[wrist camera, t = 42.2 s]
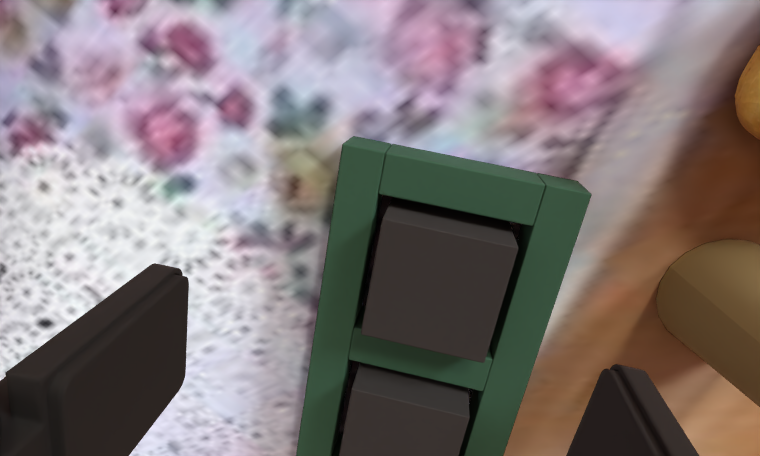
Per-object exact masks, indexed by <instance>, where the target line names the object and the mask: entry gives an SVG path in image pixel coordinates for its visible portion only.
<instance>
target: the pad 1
mask: <svg viewBox="0 0 760 456" xmlns="http://www.w3.org/2000/svg"><path fill="white" fill-rule="evenodd" d="M517 252H518V245H517V243H516V240H515V237H514V234H513V231H512V229H511V226H510V223H509V221H505V220H500V219H495V218H490V217H486V216H481V215H476V214H471V213H467V212H462V211H457V210H452V209H448V208H443V207H438V206H433V205H429V204H424V203H419V202H414V201H410V200H405V199H400V198H395V197H392V199H391V201H390V203H389V205H388V208H387V210H386V212H385V214H384V216H383V219H382V223H381V228H380V233H379V239H378V244H377V249H376V255H375V260H374V265H373V271H372V276H371V281H370V286H369V292H368V297H367V302H366V308H365V313H364V318H363V323H362V329H361V334H362V335H366V336H370V337H374V338H379V339H383V340H387V341H391V342H396V343H400V344H404V345H408V346H413V347H417V348H421V349H425V350H430V351H434V352H438V353H443V354H447V355H451V356H455V357H460V358H464V359H468V360H472V361H477V362H481V363H484V362H485V359H486V356H487V352H488V349H489V346H490V342H491V339H492V335H493V332H494V329H495V325H496V322H497V319H498V315H499V312H500V309H501V305H502V302H503V299H504V295H505V292H506V288H507V285H508V282H509V278H510V275H511V272H512V268H513V265H514V262H515V258H516V255H517Z"/></svg>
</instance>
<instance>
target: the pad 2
mask: <svg viewBox="0 0 760 456" xmlns="http://www.w3.org/2000/svg"><path fill="white" fill-rule="evenodd" d="M469 418H470V415H469V394H468V388H466V387H462V386H458V385H454V384H450V383H445V382H441V381H437V380H433V379H429V378H424V377H420V376H416V375H412V374H408V373H403V372H399V371H395V370H391V369H387V368H382V367H378V366H374V365H370V364H366V363H361V362H360V364H359V367H358V370H357V373H356V377H355V380H354V383H353V386H352V390H351V395H350V400H349V406H348V411H347V416H346V422H345V427H344V432H343V437H342V443H341V448H340V453H339V456H458V455H459V452H460V448H461V445H462V442H463V438H464V435H465V432H466V428H467V425H468V421H469Z"/></svg>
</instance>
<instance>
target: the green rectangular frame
mask: <svg viewBox="0 0 760 456" xmlns="http://www.w3.org/2000/svg"><path fill="white" fill-rule="evenodd" d="M382 195H386V196H390V197H395V198H400V199H405V200H410V201H414V202H419V203H424V204H429V205H433V206H438V207H443V208H448V209H452V210H457V211H462V212H467V213H471V214H476V215H481V216H486V217H490V218H495V219H500V220H505V221H509V222H514V223H519V224H522V226H521V230H520V233H519V236H518V240H517V245H518V252H517V255H516V258H515V262H514V265H513V268H512V272H511V275H510V278H509V282H508V285H507V288H506V292H505V295H504V299H503V302H502V305H501V309H500V312H499V315H498V319H497V322H496V325H495V329H494V332H493V335H492V339H491V342H490V346H489V349H488V352H487V356H486V359H485V362H484V363H481V362H477V361H472V360H468V359H464V358H460V357H455V356H451V355H447V354H443V353H438V352H434V351H430V350H425V349H421V348H417V347H413V346H408V345H404V344H400V343H396V342H391V341H387V340H383V339H379V338H374V337H370V336H366V335H362V334H361V329H362V323H363V318H364V313H365V308H366V306H362V303H363V298H364V292H365V287H366V281H367V276H368V270H369V265H370V260H371V254H372V249H373V243H374V238H375V232H376V227H377V222H378V216H379V211H380V205H381V200H382ZM590 198H591V193H589V192H588V191H587V190H586V189H585V188H584V187H583V186H582V185H581V184H580V183H579V182H578V181H574V180H569V179H564V178H559V177H554V176H549V175H544V174H539V173H538V174H536V173H534V172H529V171H524V170H519V169H514V168H509V167H504V166H499V165H494V164H489V163H484V162H479V161H474V160H469V159H464V158H460V157H455V156H450V155H445V154H440V153H435V152H430V151H425V150H420V149H415V148H410V147H405V146H400V145H395V144H392V146H391V144H390V143H385V142H380V141H375V140H370V139H365V138H360V137H355V136H354V137H352V138H350V139H349V140H348V141H346V142H345V143H344V144H343V145H342V151H341V158H340V165H339V171H338V178H337V185H336V191H335V198H334V205H333V212H332V218H331V225H330V232H329V238H328V245H327V252H326V258H325V265H324V272H323V279H322V285H321V292H320V299H319V305H318V312H317V319H316V326H315V332H314V339H313V346H312V352H311V359H310V366H309V372H308V379H307V386H306V393H305V399H304V406H303V413H302V419H301V426H300V433H299V440H298V446H297V453H296V456H339V453H340V448H341V443H342V437H343V434H340V433H339V428H340V422H341V417H342V412H343V406H344V401H345V395H346V390H347V384H348V379H349V374H350V368H351V363H352V360H353V361H357V362H361V363H366V364H370V365H374V366H378V367H382V368H387V369H391V370H395V371H399V372H403V373H408V374H412V375H416V376H420V377H424V378H429V379H433V380H437V381H441V382H445V383H450V384H454V385H458V386H462V387H466V388H471V389H473V393H472V396H471V400H470V403H469V415H470V418H469V421H468V425H467V428H466V432H465V435H464V438H463V442H462V445H461V448H460V452H459V455H458V456H503V454H504V451H505V448H506V446H507V443H508V440H509V437H510V434H511V431H512V428H513V425H514V422H515V419H516V416H517V413H518V410H519V407H520V404H521V401H522V398H523V395H524V392H525V389H526V387H527V384H528V381H529V378H530V375H531V372H532V369H533V366H534V363H535V360H536V357H537V354H538V351H539V348H540V345H541V342H542V339H543V336H544V333H545V330H546V328H547V325H548V322H549V319H550V316H551V313H552V310H553V307H554V304H555V301H556V298H557V295H558V292H559V289H560V286H561V283H562V280H563V277H564V274H565V271H566V269H567V266H568V263H569V260H570V257H571V254H572V251H573V248H574V245H575V242H576V239H577V236H578V233H579V230H580V227H581V224H582V221H583V218H584V215H585V212H586V210H587V207H588V204H589V201H590ZM338 433H339V434H338Z"/></svg>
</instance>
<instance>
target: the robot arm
mask: <svg viewBox="0 0 760 456" xmlns="http://www.w3.org/2000/svg"><path fill="white" fill-rule="evenodd" d="M188 288H189V282H188V278H187V277H185V276H182V271H181V270H180V269H179V268H174V267H169V266H165V265H160V264H152V265H150V266H149V267H147V268H146V269H145V270H143V271H142V272H141V273H139V274H138V275H137V276H135V277H134V278H133V279H131V280H130V281H129V282H127V283H126V284H125V285H123V286H122V287H120V288H119V289H118V290H116V291H115V292H114V293H112V294H111V295H110V296H108V297H107V298H106V299H104V300H103V301H102V302H100V303H99V304H98V305H96V306H95V307H94V308H92V309H91V310H89V311H88V312H87V313H85V314H84V315H83V316H81V317H80V318H79V319H77V320H76V321H75V322H73V323H72V324H71V325H69V326H68V327H67V328H65V329H64V330H63V331H61V332H60V333H58V334H57V335H56V336H54V337H53V338H52V339H50V340H49V341H48V342H46V343H45V344H44V345H42V346H41V347H40V348H38V349H37V350H36V351H34V352H33V353H31V354H30V355H29V356H27V357H26V358H25V359H23V360H22V361H21V362H19V363H18V364H17V365H15V366H14V367H13V368H11V369H10V370H9V371H7V372H6V377H5V378H4V379H2V380H1V381H0V456H129V455H130V453H131V452H132V451H133V449H134V448H135V447H136V446H137V444H138V443H139V442H140V440H141V439H142V438H143V436H144V435H145V434H146V433H147V431H148V430H149V429H150V427H151V426H152V425H153V423H154V422H155V421H156V420H157V418H158V417H159V416H160V414H161V413H162V412H163V410H164V409H165V408H166V407H167V405H168V404H169V403H170V401H171V400H172V399H173V397H174V396H175V395H176V394H177V392H178V391H179V389H180V388H181V386H182V384H183V381H184V378H185V370H186V342H187V315H188ZM566 456H699V455H698V453H697V451H696V450H695V448H694V447H693V445H692V444H691V442H690V440H689V439H688V437H687V436H686V434H685V433H684V431H683V429H682V428H681V426H680V425H679V423H678V422H677V420H676V418H675V417H674V415H673V414H672V412H671V411H670V409H669V407H668V406H667V404H666V403H665V401H664V399H663V398H662V396H661V395H660V393H659V392H658V390H657V388H656V387H655V385H654V384H653V382H652V381H651V379H650V377H649V376H648V374H647V373H646V372H645V371H644V370H641V369H636V368H632V367H627V366H622V365H618V364H616V365H613V366H612V367H611V368H610V370H609V369H604V370H603V371H602V372H601V374H600V377H599V379H598V381H597V384H596V386H595V389H594V391H593V393H592V396H591V398H590V400H589V403H588V405H587V408H586V410H585V412H584V415H583V417H582V420H581V422H580V424H579V427H578V429H577V431H576V434H575V436H574V439H573V441H572V443H571V446H570V448H569V451H568V453H567V455H566Z"/></svg>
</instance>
